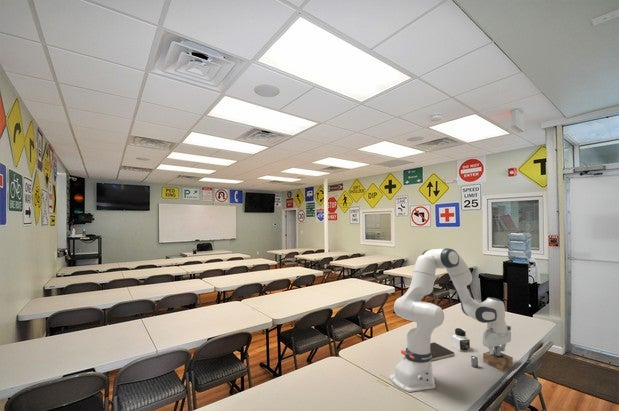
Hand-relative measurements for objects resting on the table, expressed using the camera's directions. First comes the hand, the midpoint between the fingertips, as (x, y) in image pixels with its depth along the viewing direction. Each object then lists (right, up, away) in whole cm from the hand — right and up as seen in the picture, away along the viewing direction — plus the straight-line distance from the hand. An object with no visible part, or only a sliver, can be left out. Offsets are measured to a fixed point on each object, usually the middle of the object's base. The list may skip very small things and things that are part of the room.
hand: (497, 352), depth 154 cm
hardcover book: (-32, -8, +13) cm, 36 cm away
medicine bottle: (-10, -8, +19) cm, 23 cm away
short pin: (-14, -7, -3) cm, 16 cm away
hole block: (0, -7, 0) cm, 7 cm away
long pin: (0, -7, 0) cm, 7 cm away
